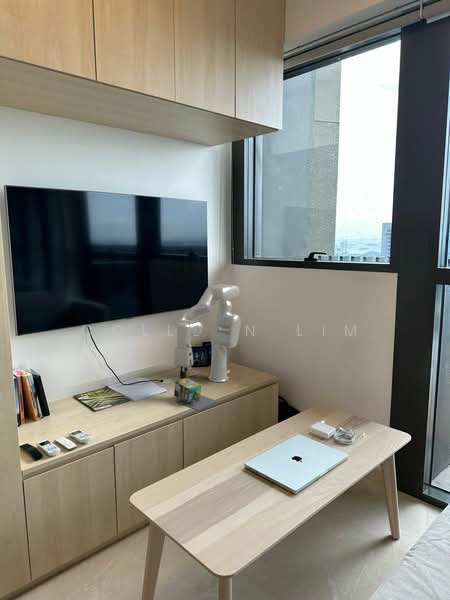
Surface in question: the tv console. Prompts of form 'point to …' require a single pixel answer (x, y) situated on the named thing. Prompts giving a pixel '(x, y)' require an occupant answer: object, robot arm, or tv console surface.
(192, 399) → the chalk box
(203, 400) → the mat
